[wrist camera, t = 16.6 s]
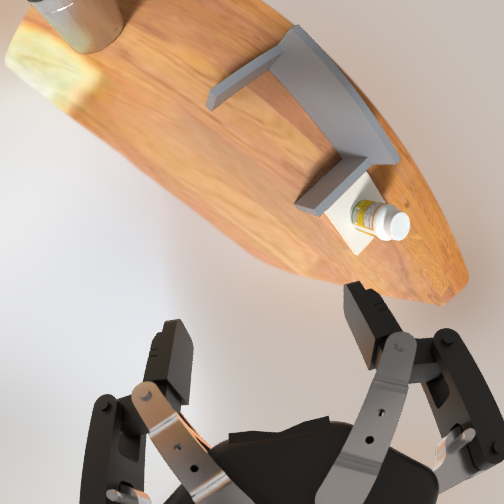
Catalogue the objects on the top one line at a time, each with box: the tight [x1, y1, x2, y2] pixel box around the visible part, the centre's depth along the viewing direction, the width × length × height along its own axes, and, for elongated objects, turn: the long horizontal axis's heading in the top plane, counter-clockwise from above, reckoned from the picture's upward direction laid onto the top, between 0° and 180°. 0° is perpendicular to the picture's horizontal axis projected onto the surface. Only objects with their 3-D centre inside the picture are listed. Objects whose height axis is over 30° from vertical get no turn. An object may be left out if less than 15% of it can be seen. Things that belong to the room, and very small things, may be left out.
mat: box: [324, 171, 385, 255], centre depth 42 cm, size 10×10×1 cm
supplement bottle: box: [350, 199, 410, 241], centre depth 37 cm, size 5×5×10 cm
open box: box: [206, 25, 400, 217], centre depth 31 cm, size 20×12×12 cm, turn 43°
